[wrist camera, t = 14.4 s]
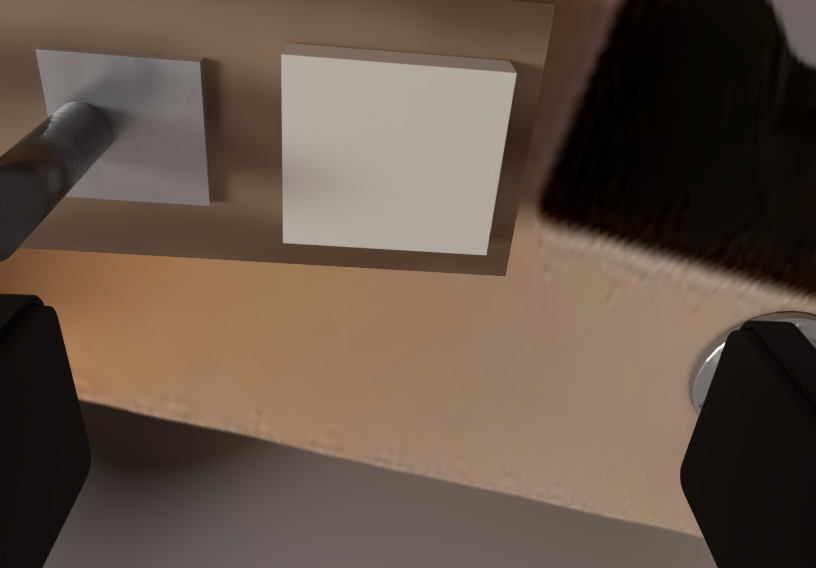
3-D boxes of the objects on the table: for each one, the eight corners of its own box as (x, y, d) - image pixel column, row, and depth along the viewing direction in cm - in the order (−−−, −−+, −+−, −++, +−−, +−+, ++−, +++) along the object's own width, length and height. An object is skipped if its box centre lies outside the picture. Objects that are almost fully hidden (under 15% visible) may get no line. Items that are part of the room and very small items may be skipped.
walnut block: (479, 185, 48) (505, 276, 38) (60, 157, 46) (-30, 244, 36) (512, -36, 41) (556, 4, 31) (16, -81, 39) (-113, -54, 29)
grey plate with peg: (213, 199, 35) (153, 323, 26) (69, 189, 35) (-44, 313, 26) (203, 57, 31) (130, 144, 22) (42, 44, 31) (-100, 127, 22)
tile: (288, 221, 36) (480, 233, 37) (282, 243, 34) (486, 255, 35) (287, 41, 31) (508, 59, 32) (281, 54, 29) (516, 72, 30)
